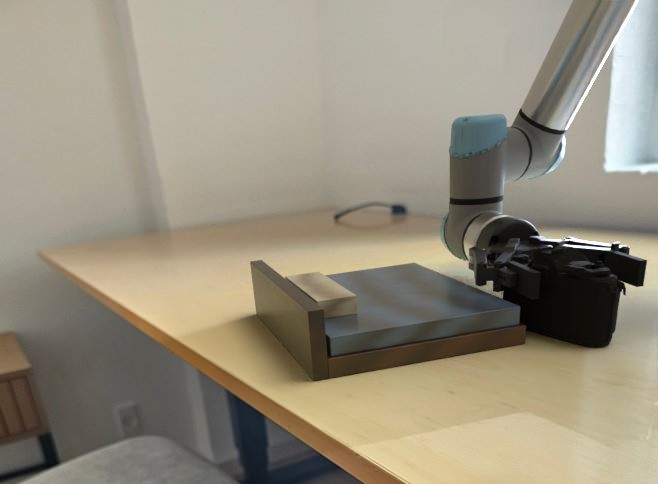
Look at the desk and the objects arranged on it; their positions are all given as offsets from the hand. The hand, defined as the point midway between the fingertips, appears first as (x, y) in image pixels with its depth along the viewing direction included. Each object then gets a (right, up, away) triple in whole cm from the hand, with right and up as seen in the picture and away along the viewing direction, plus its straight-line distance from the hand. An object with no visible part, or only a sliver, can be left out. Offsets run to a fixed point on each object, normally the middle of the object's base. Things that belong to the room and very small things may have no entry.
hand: (589, 279), depth 68 cm
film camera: (0, -4, +6) cm, 7 cm away
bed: (-21, -3, +12) cm, 24 cm away
